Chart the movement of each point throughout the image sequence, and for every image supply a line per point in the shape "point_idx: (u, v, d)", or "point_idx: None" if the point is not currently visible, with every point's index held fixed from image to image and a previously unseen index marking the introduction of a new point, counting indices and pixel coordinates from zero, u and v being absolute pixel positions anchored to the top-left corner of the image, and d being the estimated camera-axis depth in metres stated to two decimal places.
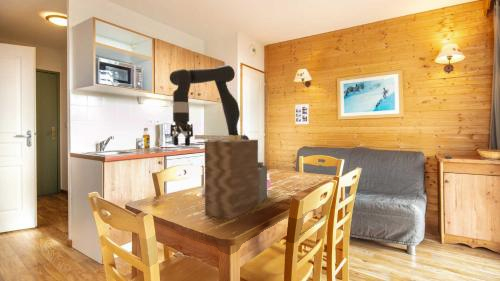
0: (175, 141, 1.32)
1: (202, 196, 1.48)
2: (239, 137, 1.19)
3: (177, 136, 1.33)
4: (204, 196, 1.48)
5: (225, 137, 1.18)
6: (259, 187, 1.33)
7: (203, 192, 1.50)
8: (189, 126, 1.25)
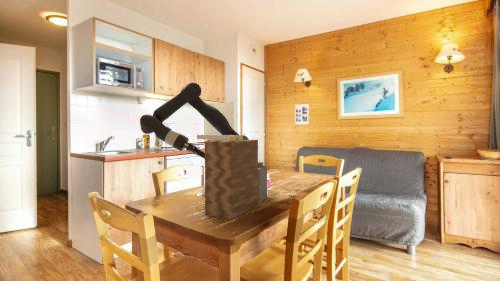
0: (202, 156, 1.36)
1: (202, 196, 1.48)
2: (241, 137, 1.18)
3: None
4: None
5: (226, 137, 1.17)
6: (259, 187, 1.33)
7: (203, 192, 1.50)
8: (185, 146, 1.25)
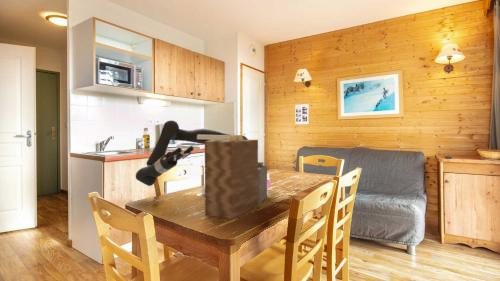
0: (190, 150, 1.33)
1: None
2: (241, 137, 1.18)
3: (186, 150, 1.35)
4: None
5: (226, 137, 1.17)
6: (259, 187, 1.33)
7: (203, 192, 1.50)
8: (164, 159, 1.27)
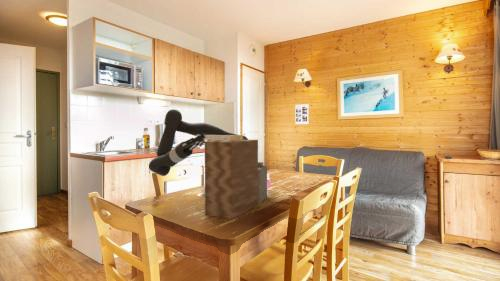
0: None
1: None
2: (241, 137, 1.18)
3: None
4: None
5: (227, 137, 1.17)
6: (259, 187, 1.33)
7: (204, 192, 1.50)
8: (185, 145, 1.22)
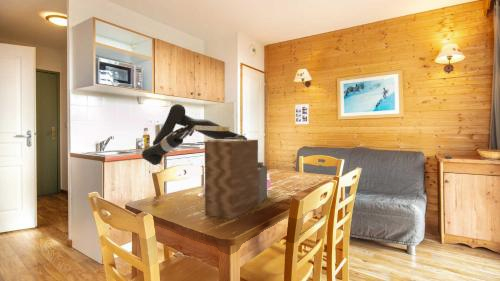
0: None
1: None
2: (227, 128, 1.26)
3: None
4: None
5: (214, 128, 1.25)
6: (259, 187, 1.33)
7: (204, 192, 1.50)
8: (175, 134, 1.30)
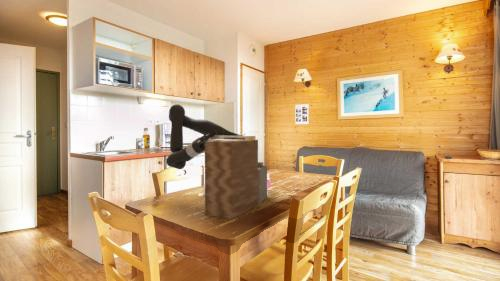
0: (220, 134, 1.37)
1: None
2: (254, 138, 1.28)
3: (216, 134, 1.38)
4: None
5: None
6: (259, 187, 1.33)
7: None
8: (199, 142, 1.31)
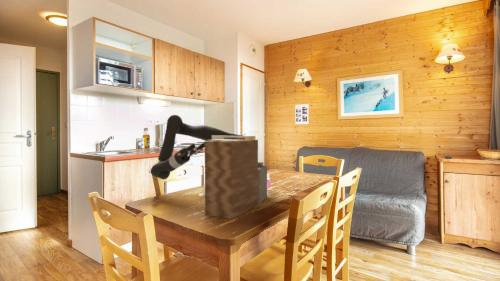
0: (202, 147, 1.44)
1: None
2: (254, 138, 1.28)
3: (198, 147, 1.45)
4: None
5: None
6: (259, 187, 1.33)
7: None
8: (179, 155, 1.37)
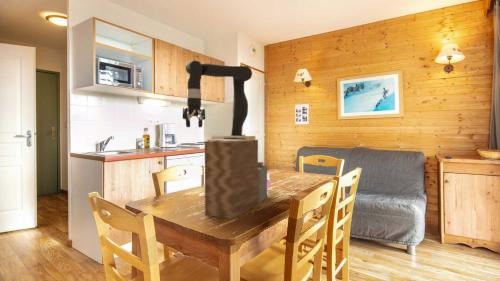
0: (199, 123, 1.52)
1: None
2: (254, 138, 1.28)
3: (200, 119, 1.52)
4: None
5: None
6: (259, 187, 1.33)
7: None
8: (183, 109, 1.44)
